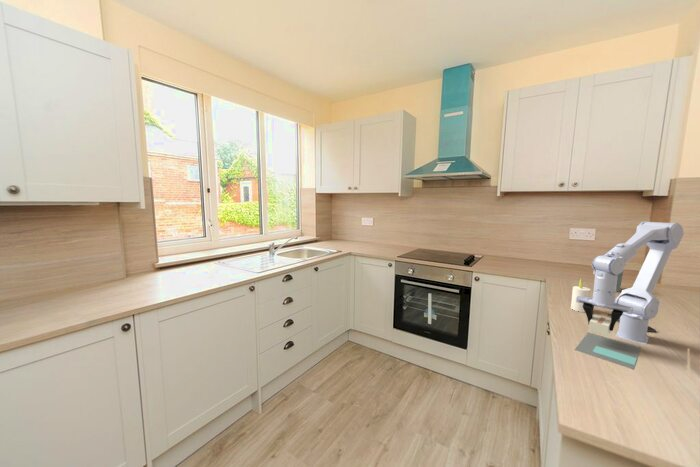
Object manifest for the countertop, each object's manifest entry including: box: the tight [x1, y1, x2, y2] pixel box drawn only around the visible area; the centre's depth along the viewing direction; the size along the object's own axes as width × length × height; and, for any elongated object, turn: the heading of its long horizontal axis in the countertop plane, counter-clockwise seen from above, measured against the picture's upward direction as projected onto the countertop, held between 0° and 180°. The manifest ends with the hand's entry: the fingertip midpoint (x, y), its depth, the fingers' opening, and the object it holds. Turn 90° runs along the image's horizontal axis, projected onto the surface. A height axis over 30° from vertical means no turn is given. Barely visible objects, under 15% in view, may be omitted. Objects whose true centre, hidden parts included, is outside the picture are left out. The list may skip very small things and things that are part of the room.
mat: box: [574, 331, 642, 370], centre depth 93 cm, size 20×14×1 cm
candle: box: [570, 278, 591, 313], centre depth 127 cm, size 6×6×15 cm
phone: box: [607, 313, 657, 333], centre depth 114 cm, size 8×1×15 cm
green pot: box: [616, 270, 624, 292], centre depth 158 cm, size 10×10×12 cm
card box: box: [588, 314, 611, 337], centre depth 97 cm, size 8×5×4 cm, turn 129°
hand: (600, 326), depth 97 cm, fingers closed on card box, 5 cm apart
